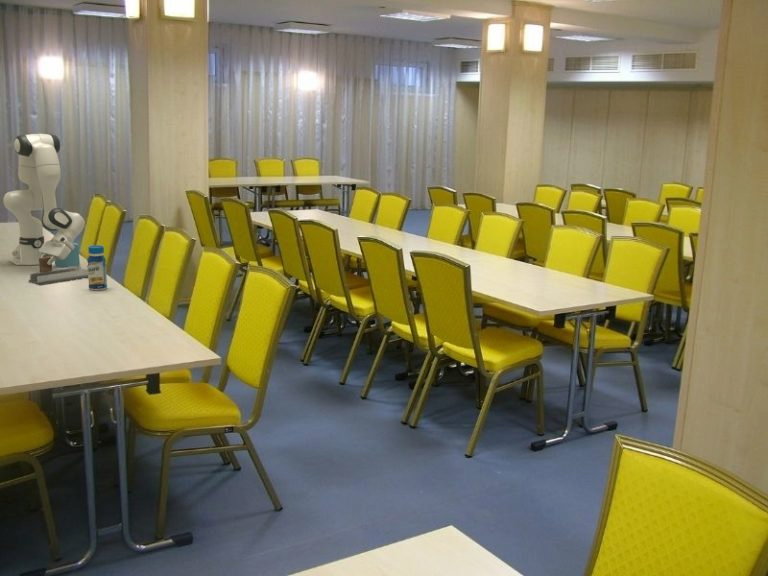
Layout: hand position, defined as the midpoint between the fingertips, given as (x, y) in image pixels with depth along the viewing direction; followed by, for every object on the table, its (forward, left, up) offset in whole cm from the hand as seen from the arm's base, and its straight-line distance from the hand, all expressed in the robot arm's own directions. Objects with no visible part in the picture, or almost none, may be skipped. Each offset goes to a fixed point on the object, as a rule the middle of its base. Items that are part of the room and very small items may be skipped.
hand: (44, 263), depth 410 cm
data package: (-15, +21, -7) cm, 26 cm away
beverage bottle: (+43, +3, -7) cm, 44 cm away
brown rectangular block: (0, +1, -6) cm, 6 cm away
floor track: (+13, +1, -6) cm, 14 cm away
